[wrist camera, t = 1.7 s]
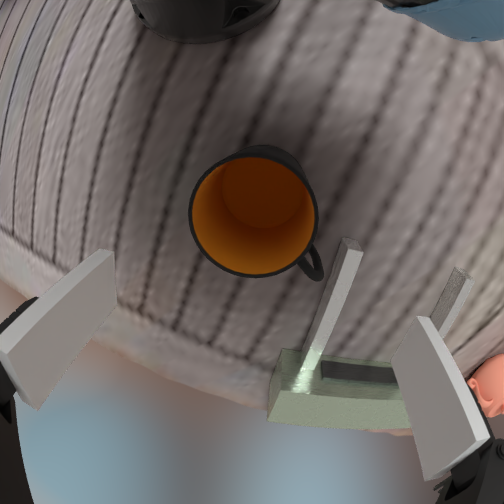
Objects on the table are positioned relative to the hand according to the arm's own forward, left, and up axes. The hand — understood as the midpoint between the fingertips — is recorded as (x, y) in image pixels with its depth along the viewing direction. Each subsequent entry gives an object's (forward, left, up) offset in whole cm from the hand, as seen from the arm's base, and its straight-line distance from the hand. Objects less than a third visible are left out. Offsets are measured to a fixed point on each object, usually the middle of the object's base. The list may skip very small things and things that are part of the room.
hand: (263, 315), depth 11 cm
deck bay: (+13, +16, -18) cm, 28 cm away
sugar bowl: (+19, +45, -18) cm, 52 cm away
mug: (0, 0, -18) cm, 18 cm away
